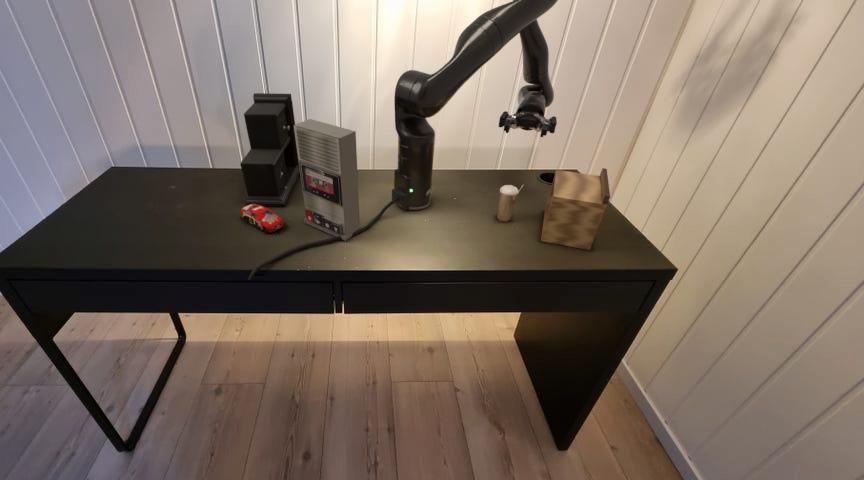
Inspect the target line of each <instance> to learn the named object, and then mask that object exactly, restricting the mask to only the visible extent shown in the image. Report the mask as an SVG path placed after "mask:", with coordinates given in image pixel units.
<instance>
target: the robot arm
mask: <svg viewBox="0 0 864 480" xmlns="http://www.w3.org/2000/svg"><path fill="white" fill-rule="evenodd" d="M558 1H559V0H512V1H509V2H507V3H504V4H501V5H499V6H496V7H494V8H491V9H489V10H487V11H485V12H483V13H481V14H480V15H479V16H478V17H477V18H476V19H474V20H473V21H472V22H470V24H469V25H467V27H465V28H464V29H463V30H462V32H461V33H460V35H459V36H458V39H457V41H456V44H455V47H454V51H453V54H452V57H451V58H450V59H449V61H447V62H446V63H445V64H444V65H443V66H442V67H441V68H439V69H437V71H435V72H433V73H427V72H423V71H419V70H415V69H409V70H406V71H405V72H403V73H402V74H401V75H400V77H399V78H398V79H397V82H396V85H395V89H394V101H393V102H394V103H393V104H394V127H395V128H394V129H395V131H396V133H397V168H396V169H394V171H393V172H394V174H393V175H394V176H393V182H394V183H393V188H392V190H391V201H389V202H388V203H387V204H386V205H385V206H384V207H382V209H381V210H380V211H379V213H378V214H377V215H375V217H374V218H373V219H372V220H371V221H370V222H369V223H368V224H367V225H365V226H362V227H361V229H359V230H357V231H355V232H354V233H353V234H352V237H353V236H357V235H359V234H361V233H363V232H364V231H367V230H368V229H370V228H371V227H372V226H373V225H375V223H376V222H377V221H378V220H379V219H381V217H382V216H383V214H384V213H385V212H386V211H387V210H388V209H389V208H391V206H392V205H393V204H396V205H397V206H398V207H400V208H401V209H402V210H404V211H419V210H420V211H421V210H424V209H427V208H428V207H429V206H430V205H431V194H432V192H433V190H434V187H433V186H432V181H433V170H434V156H435V144H436V131H435V129H434V128H433V127H432V125H431V124H430V123H429V121H428V120H427V119H428V118H429V119H430V118H432V117H434V116H435V115H437V114H438V113H440V111H441V110H443V108H444V107H445V106H446V105H447V104H448V103H449V102H450V101H451V100H452V98H453V97H454V96H455V95H456V93H458V91H459V90H460V89H461V88H462V87H463V86H464V84H466V83H467V82H468V81H469V80H470V79H471V78H472V77H473V76H474V75H475V74H476V73H477V72H478V71H479V70H480V69H481V68H482V67H484V66H485V65H486V64H487V63H488V62H489V61H490V60H492V58H494V57H495V56H496V55H497V54H498V53H499V52H500V51H501V50H502V49H503V48H504V47H505V46H506V45H507V44H508V43H510V42H511V41H512V40H513V39H514V38H515V37H516V36H517V35H519V38H520V43H521V53H522V78H523V81H524V82H525V83H526V85H523V86H522V87H520V89H519V90H518V92H517V104H518V107H517V109H516V111H515V113H513V114H512V115H511V114H510V113H509V112H508V111H503V112H502V114H501V115H500V116H499V120H498V128H503V131H504V132H505V134H509V132H510V130H511V129H513V130H516V129H521V130H523V131H533V130H534V131H535V132H537V133H539V132H540V135H539V138H544V137H545V136H547V134H548V132H549V133H550V134H555V132H556V128H557V124H558V120H557V117H556V116H551V117H549V118H546V117H545V116H546V115H545V114H546V108H549V107H550V106H551V105H552V103H553V101H554V99H555V92H554V88H553V85H552V82H551V79H550V73H549V64H550V63H549V62H550V52H549V46H548V43H547V40H546V38H545V35H544V33H543V31H542V29H541V27H540V24H539V21H538V19H539V18H540V17H542V16H543V15H544V14H546V13H547V12H549V11H550V10H551V9H552V8H553V7H554V6H555V5H556V4H557V2H558ZM340 240H342V239H341V236H337V237H336V236H334V237H333V236H332V237H330V238H324V239H321V240H316V241H311V242H307V243H304V244H300V245H297V246H294V247H292V248H289V249H288V250H285V251H283V252H280V253H279V254H276V255H275V256H273V257H272V258H269V259H267V260H265V261H262V262H260V263H259V264H258V265H256V266H255V267H254V268H253V270H251V272H250V274H249V275H248V277H247V281H251V280H253V279H254V276H255V275H256V274H257V272H258V271H259V270H261V269H262V268H264V267H266V266H268V265H270V264H272V263H273V262H276V261H277V260H279V259H281V258H283V257H286V256H287V255H289V254H291V253H294V252H296V251H299V250H303V249H306V248H309V247H313V246H317V245H323V244H327V243H330V242H335V241H340ZM261 267H262V268H261Z"/></svg>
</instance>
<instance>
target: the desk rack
mask: <svg viewBox="0 0 864 480" xmlns="http://www.w3.org/2000/svg"><path fill="white" fill-rule="evenodd" d="M550 187H551V188H550V190H549V194H548V198H547V202H546V204H545V205H546V206H545V209H544V212H543V213H544V215H543V222H542V228H541V229H542V230H541V238H540V241H541V242H544V243H550V244H556V245H561V246H565V247H566V246H567V247H571V248H577V249H581V250H588V251H591V248H592V246H593V243H594V241H595V238H596V236H597V233H598V230H599V228H600V225H601V222H602V220H603V217H604V214H605V211H606V210H607V206H608V204H609V201H610V198H611V192H610V184H609V175H608V169H607V168H604V167H602V168H601V171H600V174H599V175H598V174H597V175H596V174H589V173H583V172H575V171H569V170H562V169H556V170H555V173H554V177H553V179H552V183H551V186H550Z"/></svg>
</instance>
